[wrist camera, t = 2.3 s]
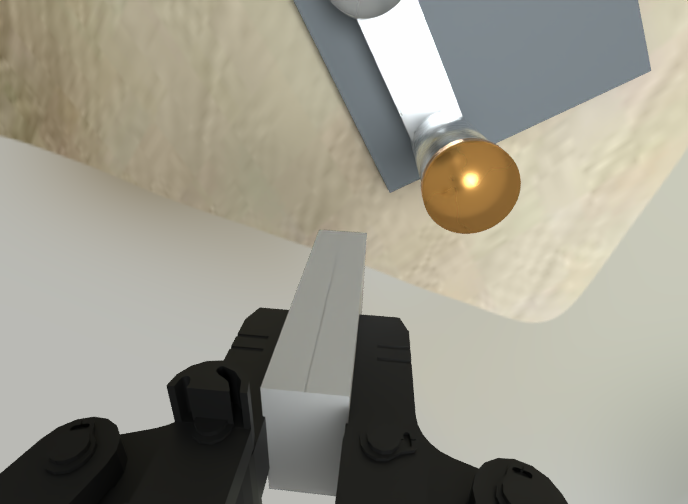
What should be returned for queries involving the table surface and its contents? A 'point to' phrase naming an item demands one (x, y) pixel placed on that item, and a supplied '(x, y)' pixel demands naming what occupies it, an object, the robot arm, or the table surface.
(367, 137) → the plate
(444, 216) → the bar
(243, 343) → the robot arm
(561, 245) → the table surface
